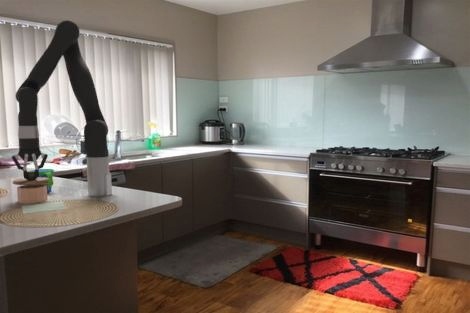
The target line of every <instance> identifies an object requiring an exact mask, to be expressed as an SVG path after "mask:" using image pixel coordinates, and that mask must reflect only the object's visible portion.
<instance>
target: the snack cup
mask: <svg viewBox="0 0 470 313" xmlns="http://www.w3.org/2000/svg"><path fill="white" fill-rule="evenodd" d="M30 171H35V169H31V170H30ZM54 173H55V170H54V169H53V168H40V169H39V177H44V178H49V179H50V181H49V182H46V183H42V184H46V185H47V193H49V192H51V191H52V188H53V185H54V179H53V177H54V176H53V175H54Z"/></svg>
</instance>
